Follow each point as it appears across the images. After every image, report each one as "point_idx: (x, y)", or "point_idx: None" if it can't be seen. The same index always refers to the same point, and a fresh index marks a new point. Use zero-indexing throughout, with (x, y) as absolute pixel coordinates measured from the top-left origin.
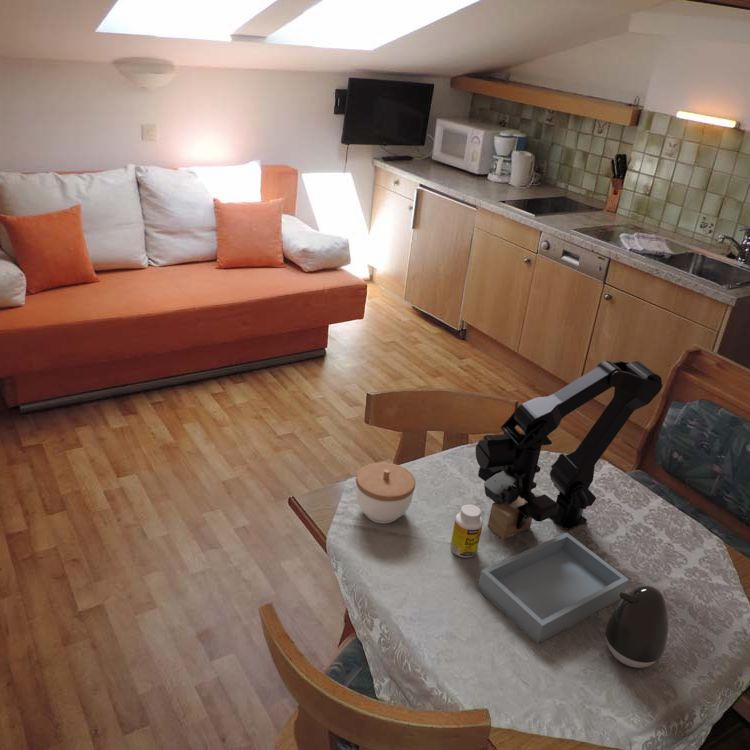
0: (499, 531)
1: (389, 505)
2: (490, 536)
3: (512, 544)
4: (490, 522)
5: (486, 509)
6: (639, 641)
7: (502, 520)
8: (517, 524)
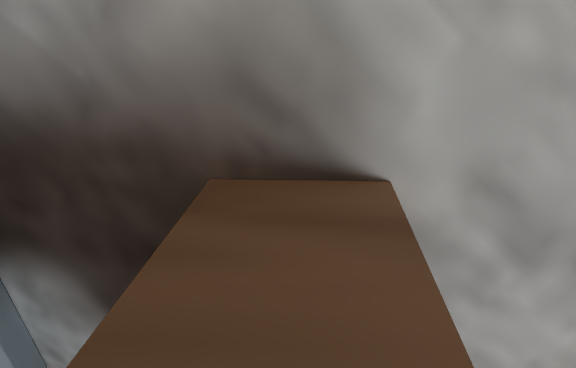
0: (254, 196)
1: None
2: (279, 113)
3: (143, 195)
4: (375, 205)
5: (528, 296)
6: None
7: (210, 280)
8: None
